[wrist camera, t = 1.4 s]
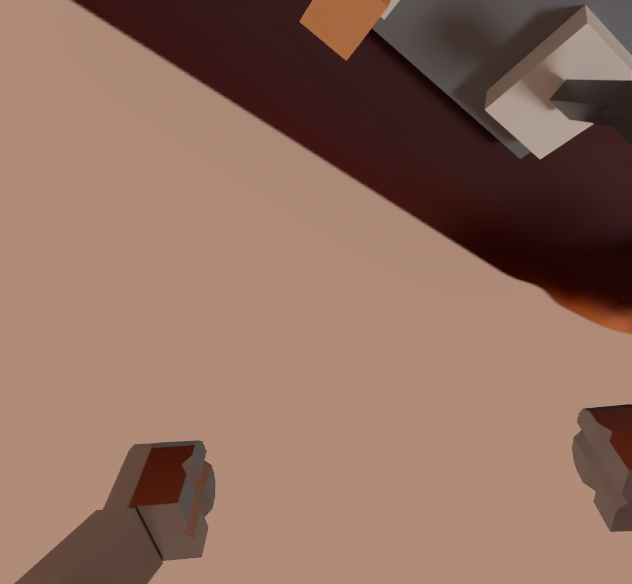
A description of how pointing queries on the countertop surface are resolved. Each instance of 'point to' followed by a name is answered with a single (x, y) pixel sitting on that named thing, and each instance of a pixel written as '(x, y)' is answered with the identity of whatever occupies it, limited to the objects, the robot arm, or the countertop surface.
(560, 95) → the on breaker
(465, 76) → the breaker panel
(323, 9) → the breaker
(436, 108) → the countertop surface
